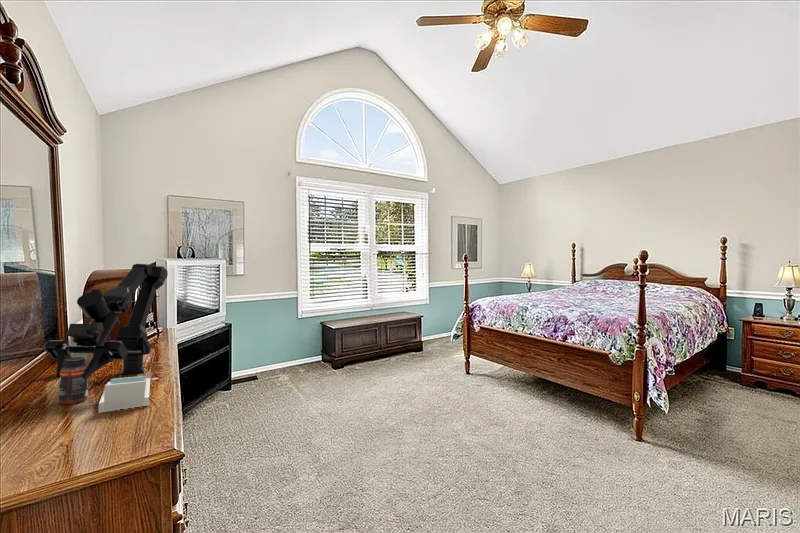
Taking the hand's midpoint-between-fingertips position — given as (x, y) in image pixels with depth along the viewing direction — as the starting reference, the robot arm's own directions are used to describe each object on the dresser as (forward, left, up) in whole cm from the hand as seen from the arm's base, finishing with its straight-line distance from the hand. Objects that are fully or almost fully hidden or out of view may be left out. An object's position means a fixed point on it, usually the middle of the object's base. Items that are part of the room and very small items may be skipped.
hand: (70, 377), depth 100 cm
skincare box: (-36, -3, -7) cm, 36 cm away
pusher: (+2, +12, -7) cm, 14 cm away
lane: (+2, +12, -7) cm, 14 cm away
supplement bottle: (-1, +1, -7) cm, 7 cm away
